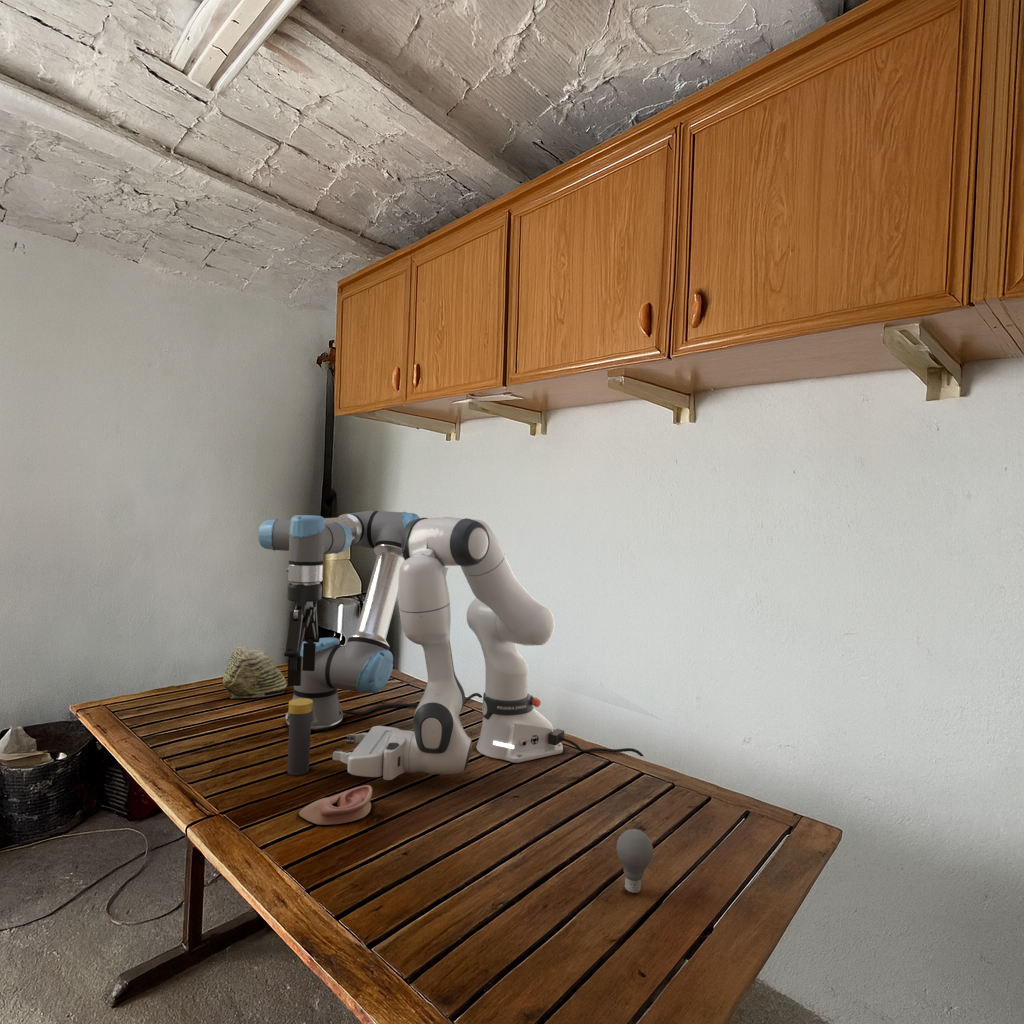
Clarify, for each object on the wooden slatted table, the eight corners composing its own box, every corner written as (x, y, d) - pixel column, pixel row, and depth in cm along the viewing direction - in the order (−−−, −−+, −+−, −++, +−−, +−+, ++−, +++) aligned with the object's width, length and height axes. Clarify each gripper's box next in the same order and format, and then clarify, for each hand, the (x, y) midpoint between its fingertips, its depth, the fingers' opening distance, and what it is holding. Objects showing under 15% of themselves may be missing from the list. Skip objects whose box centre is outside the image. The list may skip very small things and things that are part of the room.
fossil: (218, 695, 195) (220, 647, 195) (278, 685, 208) (279, 640, 207) (228, 703, 189) (230, 653, 188) (289, 692, 201) (290, 645, 201)
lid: (295, 705, 148) (296, 697, 148) (316, 708, 148) (316, 699, 147) (283, 713, 143) (284, 704, 143) (305, 715, 142) (305, 706, 142)
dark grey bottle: (294, 765, 148) (296, 699, 148) (312, 767, 148) (315, 701, 147) (283, 774, 144) (285, 705, 143) (302, 776, 143) (305, 707, 143)
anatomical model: (291, 800, 123) (320, 775, 134) (290, 820, 123) (320, 794, 134) (354, 810, 120) (379, 784, 132) (353, 830, 121) (378, 803, 132)
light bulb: (610, 879, 108) (613, 822, 108) (644, 879, 109) (647, 822, 109) (619, 902, 102) (622, 840, 102) (655, 901, 103) (658, 840, 103)
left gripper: (302, 575, 156) (299, 663, 157) (271, 589, 133) (267, 692, 133) (333, 576, 157) (330, 664, 157) (307, 590, 133) (304, 693, 134)
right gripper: (411, 721, 154) (355, 717, 155) (389, 754, 134) (325, 750, 135) (410, 746, 154) (354, 742, 155) (388, 784, 134) (324, 779, 135)
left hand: (301, 677), depth 145 cm, fingers open, 11 cm apart
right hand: (340, 746), depth 145 cm, fingers open, 8 cm apart
